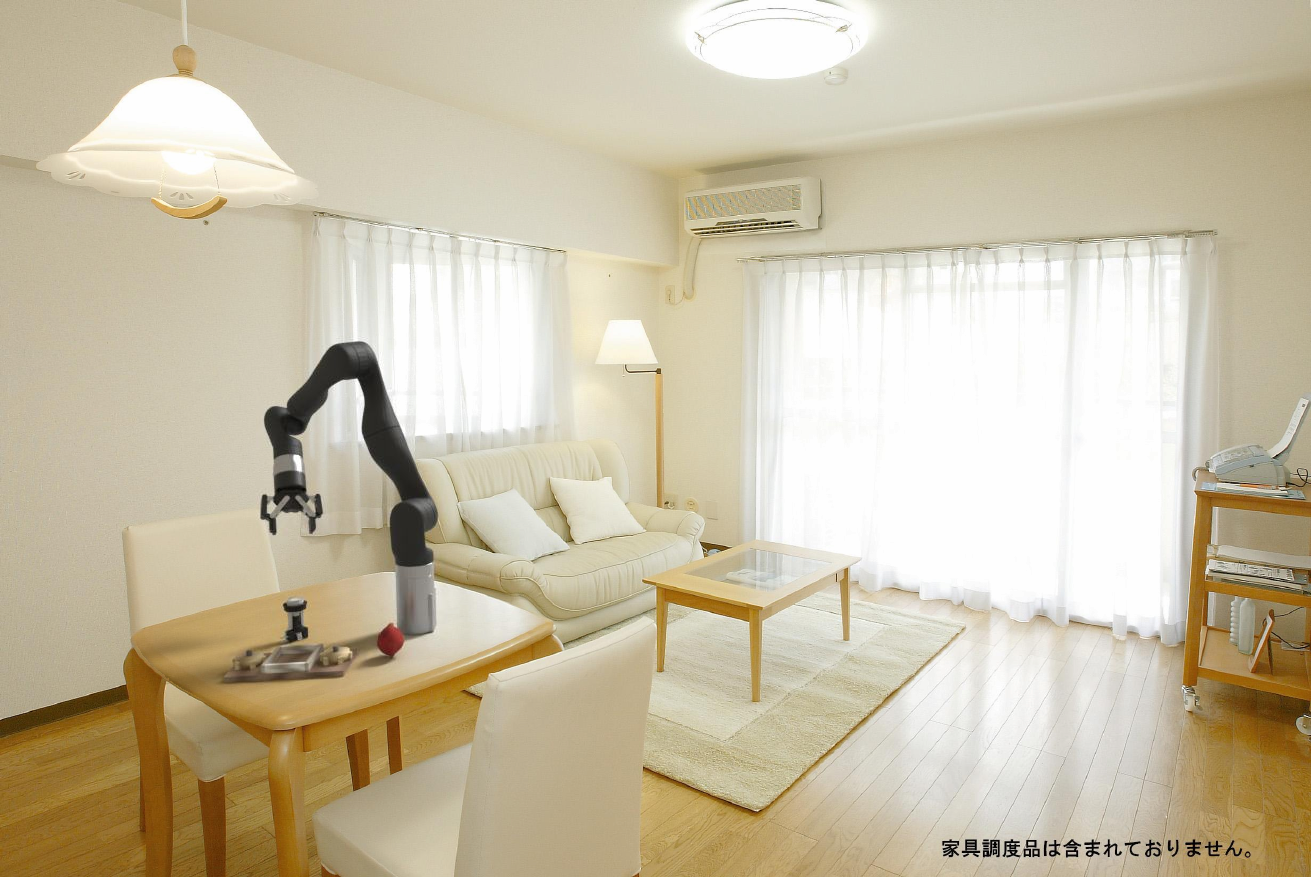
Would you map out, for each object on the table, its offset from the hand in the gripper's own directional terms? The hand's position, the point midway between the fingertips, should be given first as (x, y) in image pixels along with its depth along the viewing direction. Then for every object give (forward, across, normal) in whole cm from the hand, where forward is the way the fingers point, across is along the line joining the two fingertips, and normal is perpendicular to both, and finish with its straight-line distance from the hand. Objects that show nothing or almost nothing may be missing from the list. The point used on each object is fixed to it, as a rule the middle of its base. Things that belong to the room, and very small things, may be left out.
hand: (293, 533), depth 193 cm
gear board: (+36, -4, -10) cm, 37 cm away
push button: (+26, 0, +5) cm, 26 cm away
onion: (+38, +16, -15) cm, 44 cm away
